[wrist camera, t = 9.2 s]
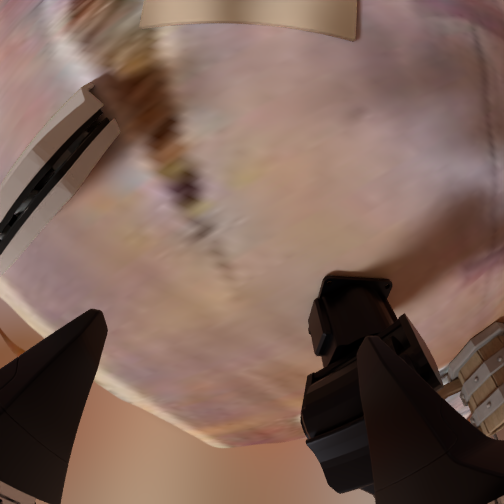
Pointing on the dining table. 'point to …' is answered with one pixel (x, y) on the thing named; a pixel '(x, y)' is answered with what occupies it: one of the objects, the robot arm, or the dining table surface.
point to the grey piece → (63, 163)
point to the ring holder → (257, 14)
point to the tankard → (480, 379)
